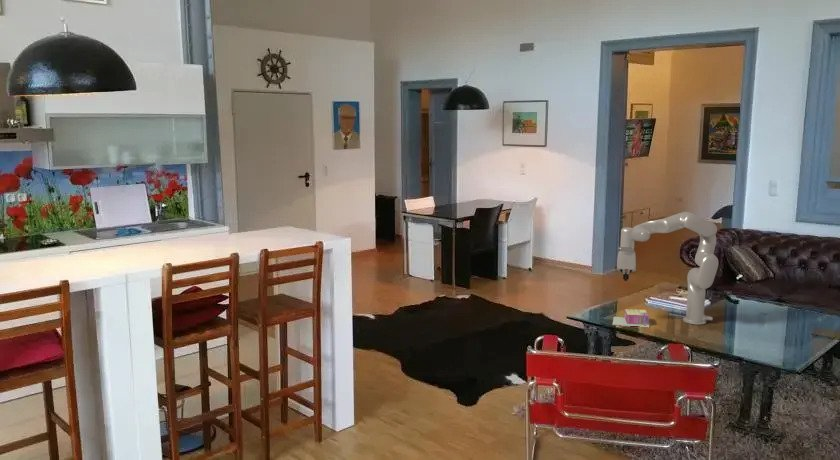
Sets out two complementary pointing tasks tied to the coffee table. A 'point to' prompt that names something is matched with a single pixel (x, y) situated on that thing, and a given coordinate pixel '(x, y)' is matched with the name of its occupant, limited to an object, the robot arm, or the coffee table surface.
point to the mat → (623, 322)
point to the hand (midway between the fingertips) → (625, 280)
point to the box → (636, 316)
